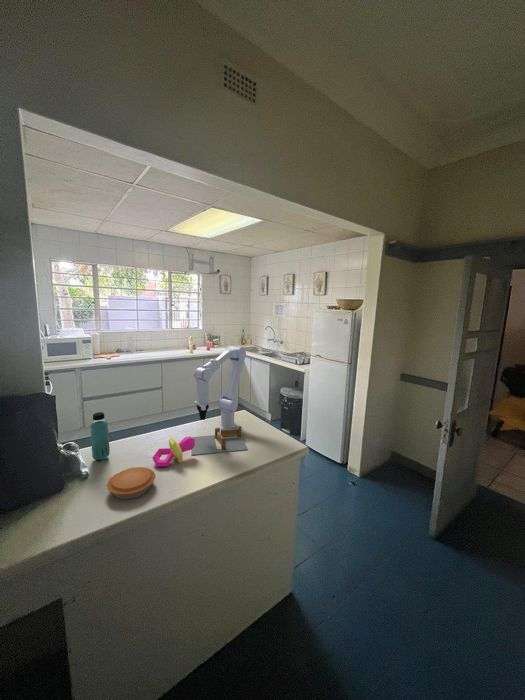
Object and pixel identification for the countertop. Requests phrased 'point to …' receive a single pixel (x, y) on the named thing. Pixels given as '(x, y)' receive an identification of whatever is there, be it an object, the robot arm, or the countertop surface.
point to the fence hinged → (221, 440)
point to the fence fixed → (229, 432)
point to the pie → (131, 482)
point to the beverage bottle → (99, 437)
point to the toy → (173, 451)
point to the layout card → (217, 445)
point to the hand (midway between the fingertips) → (202, 419)
